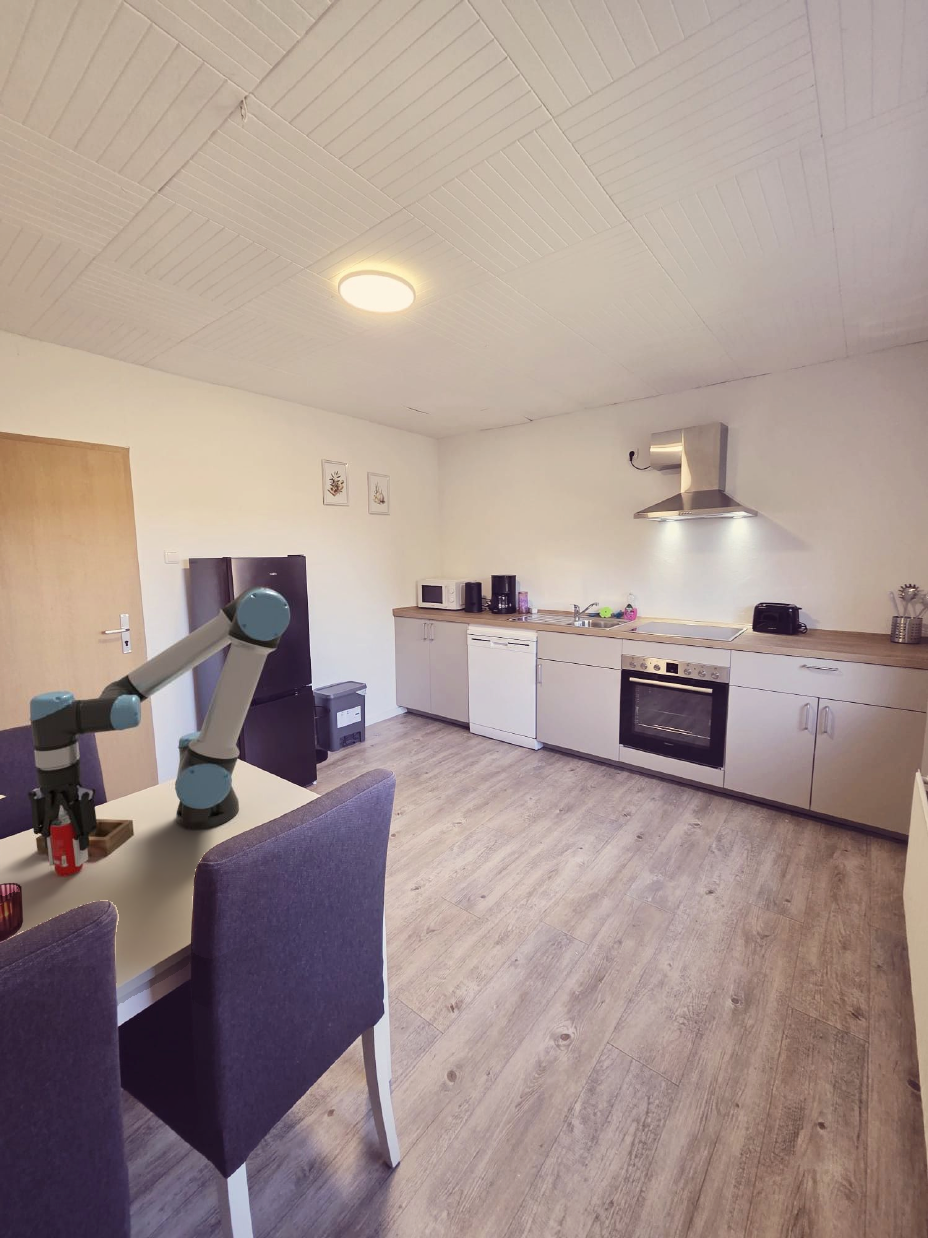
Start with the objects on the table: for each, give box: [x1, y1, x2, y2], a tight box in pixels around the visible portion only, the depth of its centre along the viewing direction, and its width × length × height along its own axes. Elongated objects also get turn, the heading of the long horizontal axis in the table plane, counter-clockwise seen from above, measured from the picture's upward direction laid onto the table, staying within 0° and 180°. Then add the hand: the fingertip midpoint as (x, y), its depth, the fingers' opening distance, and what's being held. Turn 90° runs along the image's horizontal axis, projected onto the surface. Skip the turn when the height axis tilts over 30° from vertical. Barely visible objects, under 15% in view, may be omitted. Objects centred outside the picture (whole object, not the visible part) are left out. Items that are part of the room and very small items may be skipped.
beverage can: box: [50, 815, 84, 877], centre depth 113 cm, size 5×5×12 cm
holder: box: [35, 818, 135, 857], centre depth 124 cm, size 17×9×4 cm, turn 88°
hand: (69, 862), depth 114 cm, fingers closed on beverage can, 5 cm apart
